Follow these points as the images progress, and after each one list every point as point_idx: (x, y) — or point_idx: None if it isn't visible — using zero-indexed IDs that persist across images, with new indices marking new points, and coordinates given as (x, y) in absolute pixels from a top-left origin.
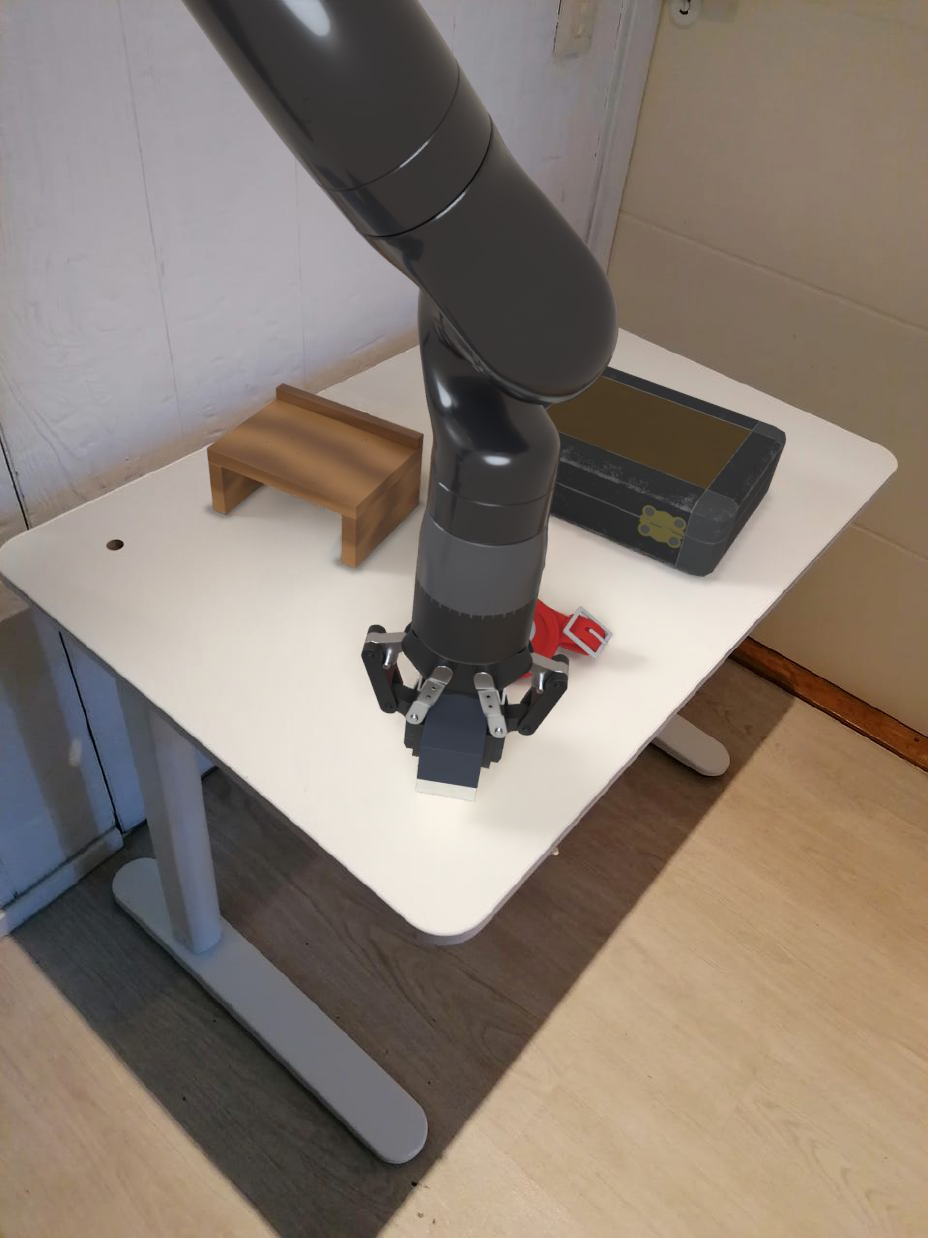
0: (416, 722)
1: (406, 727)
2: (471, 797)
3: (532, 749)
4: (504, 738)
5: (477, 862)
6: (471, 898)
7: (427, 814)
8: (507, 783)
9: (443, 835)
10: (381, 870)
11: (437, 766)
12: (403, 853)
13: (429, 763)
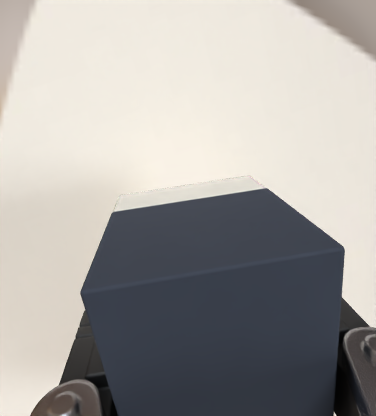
0: (356, 336)
1: (350, 309)
2: (125, 197)
3: None
4: (63, 378)
5: (88, 101)
6: (69, 9)
7: (205, 172)
8: None
9: (166, 139)
10: (255, 23)
11: (236, 217)
12: (225, 76)
13: (264, 216)
